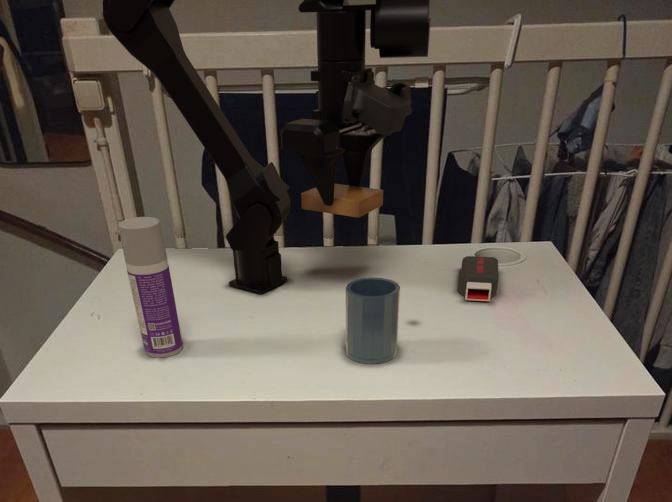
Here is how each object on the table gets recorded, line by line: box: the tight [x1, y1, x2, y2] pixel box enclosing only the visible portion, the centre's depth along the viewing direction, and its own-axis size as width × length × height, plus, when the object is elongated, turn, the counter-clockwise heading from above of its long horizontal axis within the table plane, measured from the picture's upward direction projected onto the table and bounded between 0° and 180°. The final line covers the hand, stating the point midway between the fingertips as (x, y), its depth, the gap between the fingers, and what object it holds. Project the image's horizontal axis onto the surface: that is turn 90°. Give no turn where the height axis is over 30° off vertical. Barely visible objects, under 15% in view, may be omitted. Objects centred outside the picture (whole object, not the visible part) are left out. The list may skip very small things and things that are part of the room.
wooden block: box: [300, 183, 384, 218], centre depth 83 cm, size 9×6×2 cm
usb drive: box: [458, 255, 499, 302], centre depth 89 cm, size 5×12×3 cm, turn 167°
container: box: [117, 216, 184, 359], centre depth 72 cm, size 5×5×15 cm
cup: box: [345, 276, 401, 365], centre depth 72 cm, size 6×6×8 cm
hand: (341, 199), depth 83 cm, fingers closed on wooden block, 6 cm apart
